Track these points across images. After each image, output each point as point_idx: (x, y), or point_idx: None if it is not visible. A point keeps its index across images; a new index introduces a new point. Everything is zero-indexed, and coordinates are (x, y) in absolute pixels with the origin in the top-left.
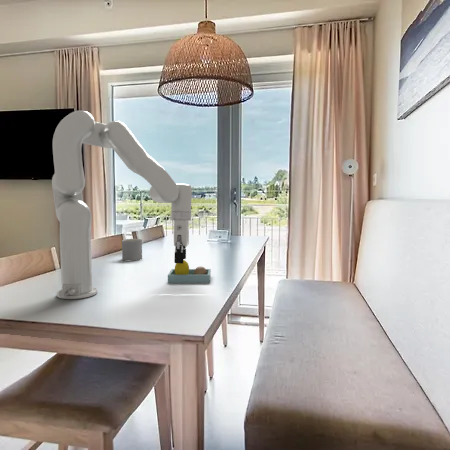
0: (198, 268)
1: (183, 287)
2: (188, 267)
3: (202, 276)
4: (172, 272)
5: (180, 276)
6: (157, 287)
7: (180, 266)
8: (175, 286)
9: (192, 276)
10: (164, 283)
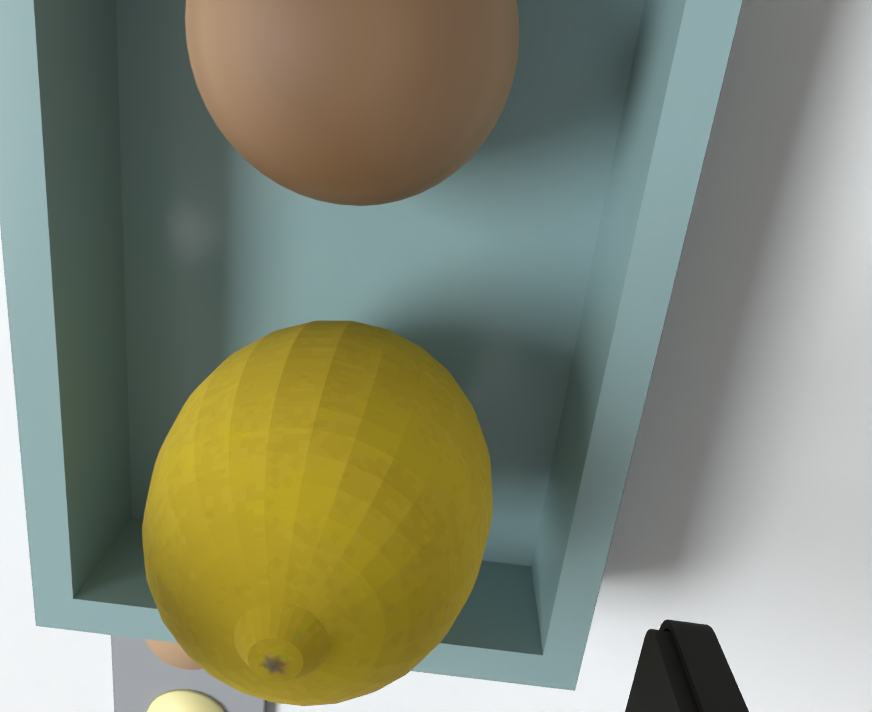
0: (429, 103)
1: (799, 371)
2: (380, 376)
3: (726, 9)
4: None
5: (618, 479)
6: None
7: (471, 582)
8: (699, 483)
9: (674, 250)
10: None
